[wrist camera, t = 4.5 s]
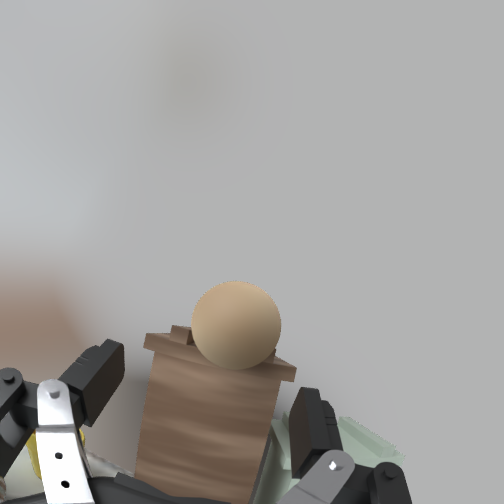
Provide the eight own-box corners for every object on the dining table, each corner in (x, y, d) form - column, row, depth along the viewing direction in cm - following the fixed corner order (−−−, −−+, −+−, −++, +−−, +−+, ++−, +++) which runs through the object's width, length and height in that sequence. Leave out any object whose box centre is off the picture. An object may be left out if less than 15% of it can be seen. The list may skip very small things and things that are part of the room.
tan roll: (253, 385, 13) (296, 308, 14) (175, 340, 13) (220, 265, 14) (241, 352, 34) (258, 322, 35) (210, 335, 34) (227, 305, 36)
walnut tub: (227, 588, 12) (299, 352, 21) (121, 563, 12) (149, 318, 21) (227, 536, 24) (276, 345, 33) (144, 518, 24) (178, 323, 33)
